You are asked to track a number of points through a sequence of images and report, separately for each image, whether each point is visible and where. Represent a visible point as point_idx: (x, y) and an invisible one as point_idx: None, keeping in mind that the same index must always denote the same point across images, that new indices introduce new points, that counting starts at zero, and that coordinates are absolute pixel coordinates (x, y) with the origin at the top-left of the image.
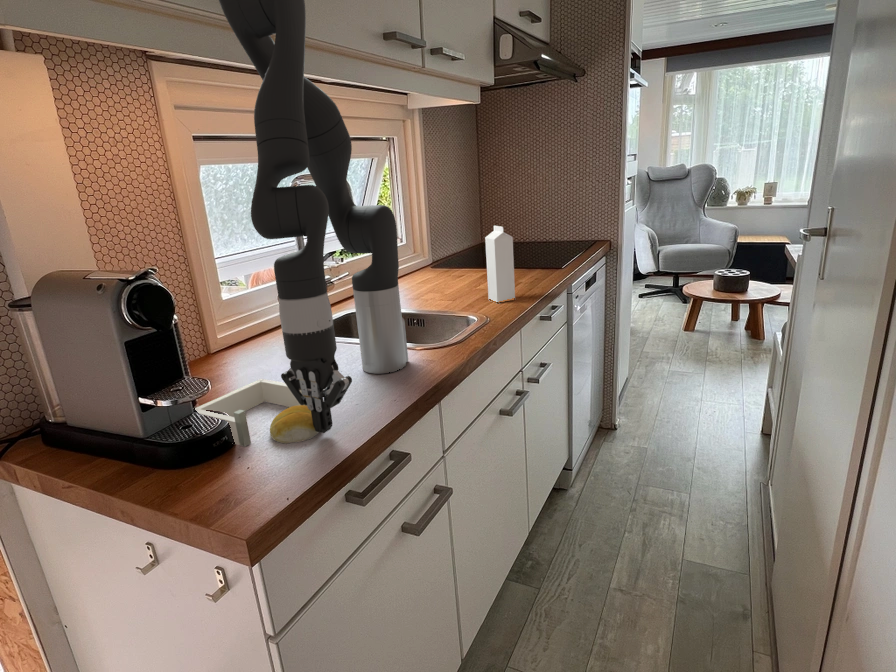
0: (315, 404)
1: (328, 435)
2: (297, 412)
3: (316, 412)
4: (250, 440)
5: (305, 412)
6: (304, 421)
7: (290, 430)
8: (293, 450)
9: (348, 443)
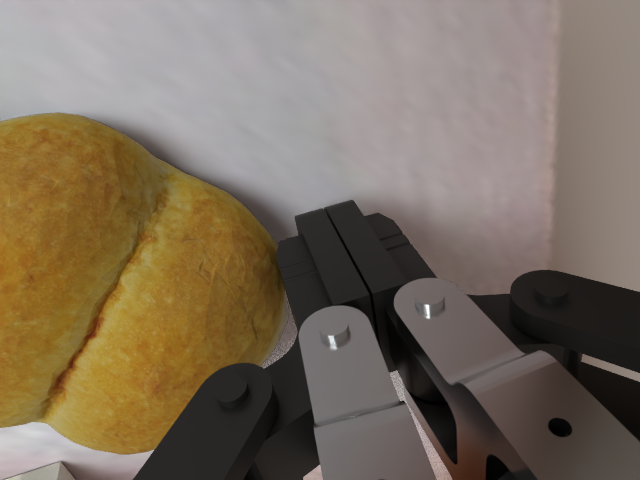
0: (422, 423)
1: (318, 192)
2: (157, 388)
3: (389, 368)
4: (56, 475)
5: (168, 330)
6: (253, 350)
7: None
8: None
9: (484, 174)
